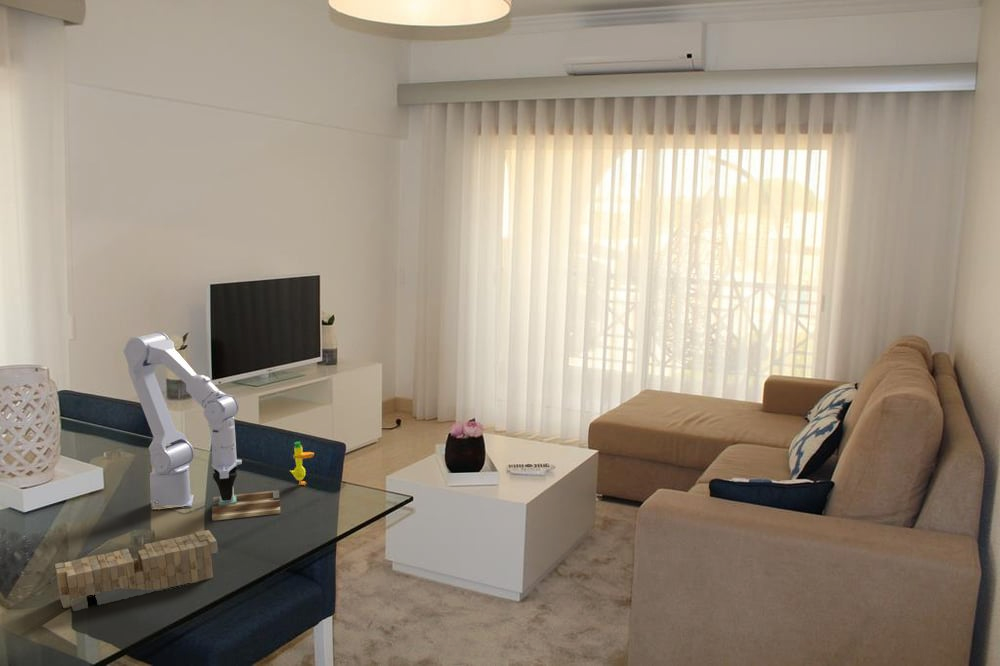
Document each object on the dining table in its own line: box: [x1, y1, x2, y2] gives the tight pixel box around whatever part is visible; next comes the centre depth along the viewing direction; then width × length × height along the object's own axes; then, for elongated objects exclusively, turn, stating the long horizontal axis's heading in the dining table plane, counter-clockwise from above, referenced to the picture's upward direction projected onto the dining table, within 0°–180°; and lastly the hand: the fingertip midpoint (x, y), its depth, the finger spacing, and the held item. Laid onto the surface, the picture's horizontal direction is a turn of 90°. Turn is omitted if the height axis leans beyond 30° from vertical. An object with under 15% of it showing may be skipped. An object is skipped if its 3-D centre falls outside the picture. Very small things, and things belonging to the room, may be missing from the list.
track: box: [211, 490, 281, 521], centre depth 212 cm, size 16×12×3 cm
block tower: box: [54, 529, 219, 600], centre depth 169 cm, size 8×8×29 cm
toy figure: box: [289, 441, 315, 486], centre depth 228 cm, size 7×4×12 cm, turn 109°
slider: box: [219, 488, 237, 506], centre depth 210 cm, size 4×5×5 cm
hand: (227, 497), depth 210 cm, fingers open, 3 cm apart
